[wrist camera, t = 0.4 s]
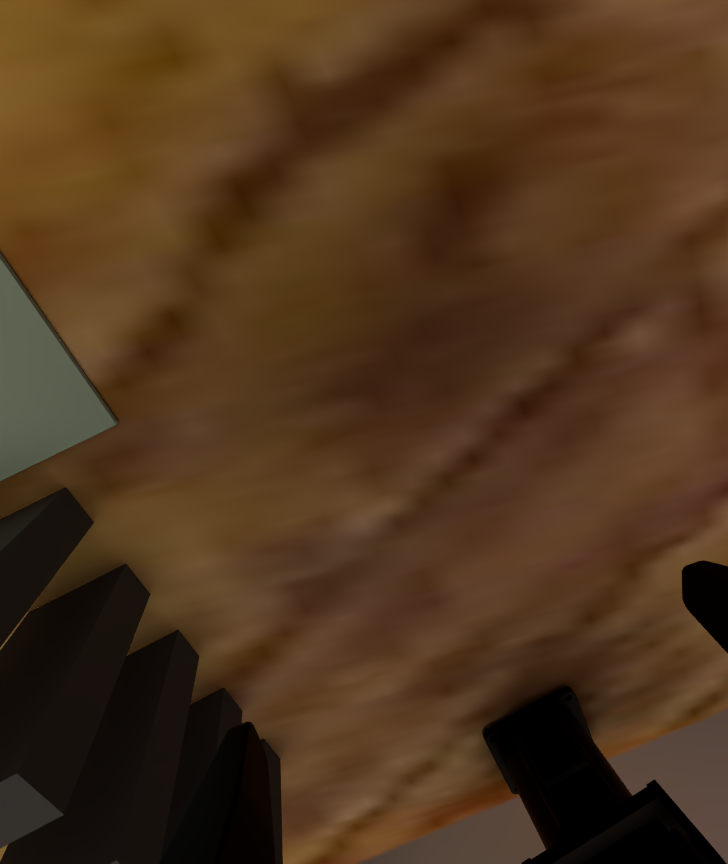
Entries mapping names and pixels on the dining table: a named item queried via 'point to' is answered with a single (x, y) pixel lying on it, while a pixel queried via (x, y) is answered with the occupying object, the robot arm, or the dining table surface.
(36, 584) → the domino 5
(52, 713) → the domino
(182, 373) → the dining table surface
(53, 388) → the mat
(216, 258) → the dining table surface
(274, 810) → the domino
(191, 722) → the domino
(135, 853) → the domino
